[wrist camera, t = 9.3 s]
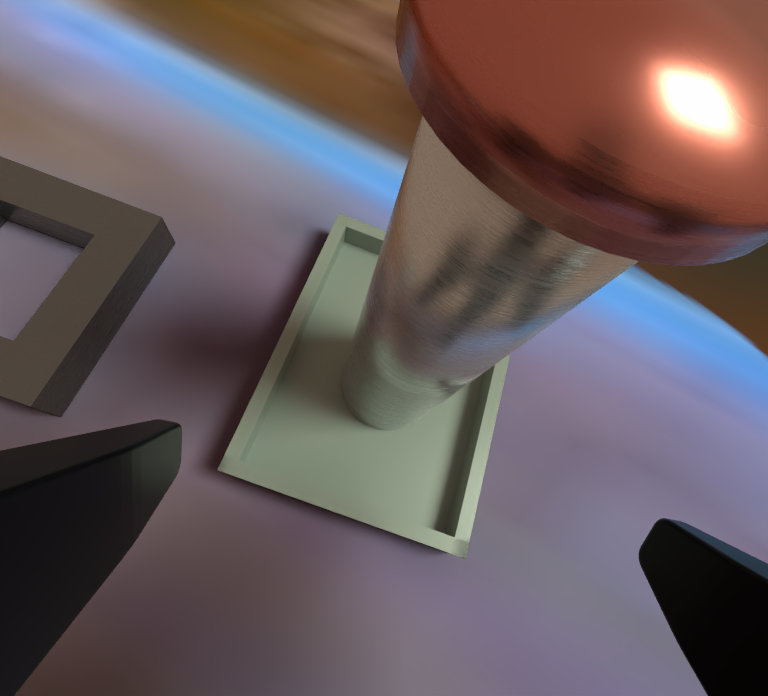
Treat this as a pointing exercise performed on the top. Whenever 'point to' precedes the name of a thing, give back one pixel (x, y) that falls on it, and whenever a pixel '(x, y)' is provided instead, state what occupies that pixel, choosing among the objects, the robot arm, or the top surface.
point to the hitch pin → (554, 175)
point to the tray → (349, 434)
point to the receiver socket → (75, 282)
